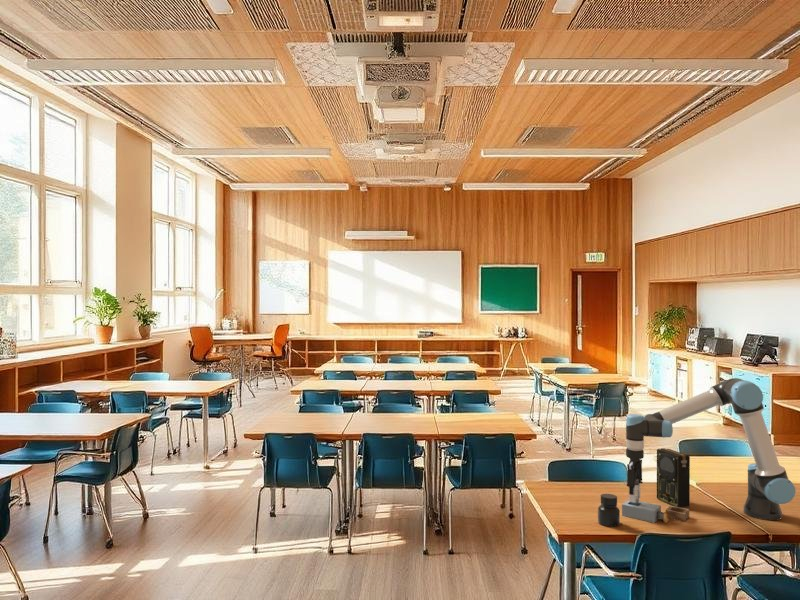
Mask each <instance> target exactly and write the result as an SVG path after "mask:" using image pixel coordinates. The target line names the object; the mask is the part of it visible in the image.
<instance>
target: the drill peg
mask: <svg viewBox="0 0 800 600" xmlns="http://www.w3.org/2000/svg"><path fill="white" fill-rule="evenodd" d="M639 501H640V498H639V479H635V502H632V501H630V505H635V506H639Z"/></svg>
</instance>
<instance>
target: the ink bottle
mask: <svg viewBox="0 0 800 600" xmlns="http://www.w3.org/2000/svg"><path fill="white" fill-rule="evenodd" d="M620 513H621V512H620V509H619V507H618V496H617V495H615V494H612V493H602V494H600V505H599V506H598V508H597V522H598V523H599V525H602V526H604V527H611V528H612V527H618V526H620V519H621V518H620V516H621V514H620Z"/></svg>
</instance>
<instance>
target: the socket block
mask: <svg viewBox="0 0 800 600" xmlns="http://www.w3.org/2000/svg"><path fill="white" fill-rule="evenodd" d="M658 511H659V512H662V505H659V504H654V503H650V502H645V501H641V500H639V506H635V505H630V501H629V499H627V500H625V502H623V503H622V504H621V516H622V517H626V518H632V519H634V520H635V519H636V520H641V521H644V522H648V523H649V522H650V523H653V524H655V523H656V522H657V521H658V520H659V519H658V518H657V512H658Z"/></svg>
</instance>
